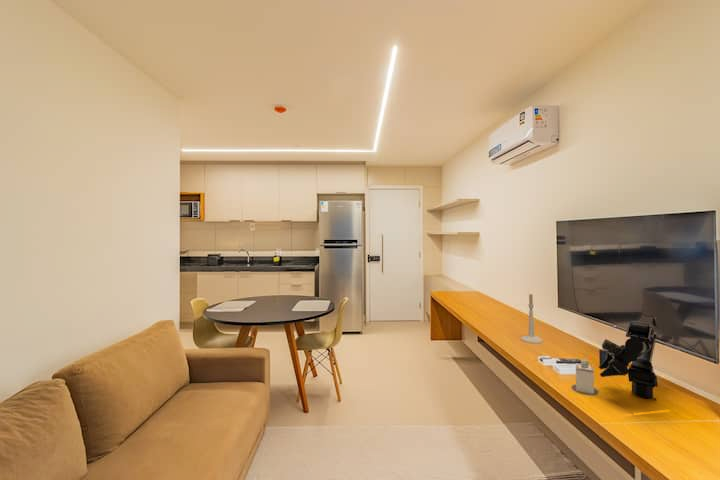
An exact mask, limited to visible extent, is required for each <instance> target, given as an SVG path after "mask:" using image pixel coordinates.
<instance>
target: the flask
mask: <svg viewBox="0 0 720 480" xmlns="http://www.w3.org/2000/svg"><path fill="white" fill-rule="evenodd" d="M598 351H599V353H598V355H599V366H600V365H601V364H602V363H603V361H604V360H605V359H606V358H607V352H608V350H605V349H603V348H600V349H598Z"/></svg>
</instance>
